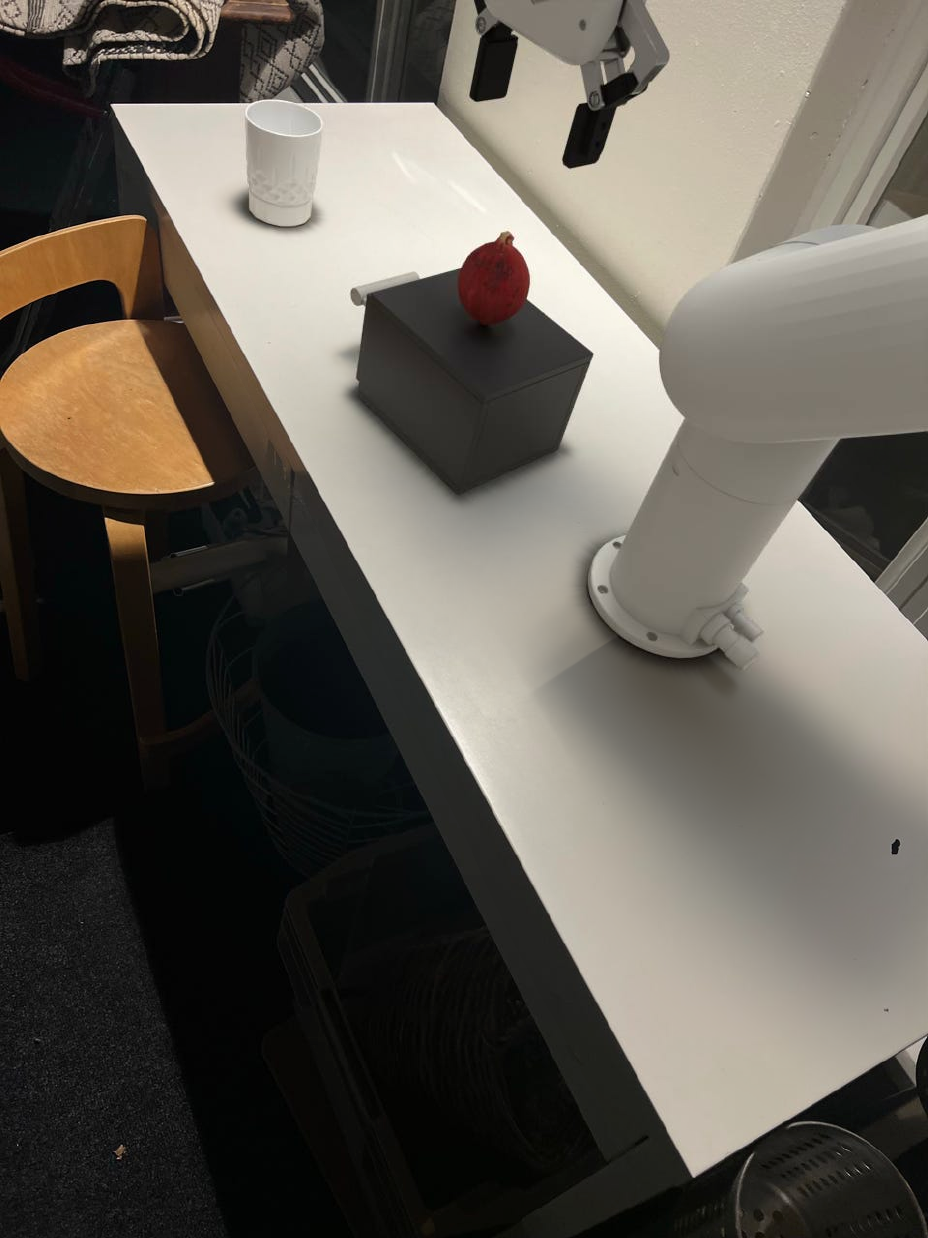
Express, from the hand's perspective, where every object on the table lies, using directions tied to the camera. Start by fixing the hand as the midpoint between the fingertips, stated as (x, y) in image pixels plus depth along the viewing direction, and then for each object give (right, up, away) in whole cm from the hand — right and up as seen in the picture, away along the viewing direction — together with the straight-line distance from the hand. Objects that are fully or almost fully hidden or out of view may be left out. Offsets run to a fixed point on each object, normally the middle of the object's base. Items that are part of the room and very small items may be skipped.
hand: (532, 130), depth 63 cm
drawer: (-8, -13, +21) cm, 26 cm away
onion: (-3, -10, +12) cm, 16 cm away
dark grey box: (-5, -16, +20) cm, 26 cm away
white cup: (-25, +11, +37) cm, 46 cm away
